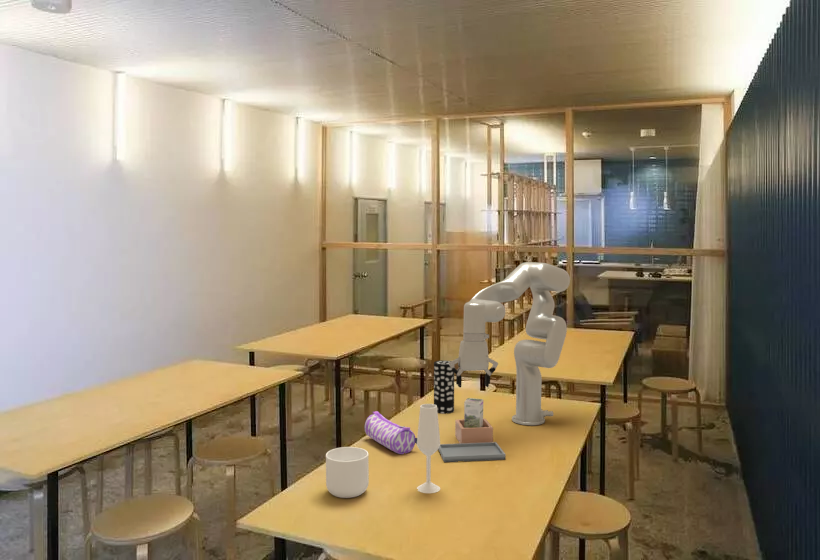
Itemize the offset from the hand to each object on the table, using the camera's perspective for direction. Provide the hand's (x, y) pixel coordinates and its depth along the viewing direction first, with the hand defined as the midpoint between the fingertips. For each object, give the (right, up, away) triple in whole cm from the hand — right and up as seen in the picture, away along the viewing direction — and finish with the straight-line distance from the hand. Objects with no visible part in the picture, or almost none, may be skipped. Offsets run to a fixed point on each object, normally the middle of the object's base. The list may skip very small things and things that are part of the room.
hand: (473, 386), depth 223 cm
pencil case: (-29, -20, -4) cm, 36 cm away
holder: (0, -19, +2) cm, 19 cm away
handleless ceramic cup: (-40, -23, -43) cm, 63 cm away
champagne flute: (-17, -23, -40) cm, 49 cm away
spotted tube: (-8, -17, +39) cm, 43 cm away
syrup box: (0, -20, +2) cm, 20 cm away
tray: (-2, -20, -13) cm, 24 cm away
